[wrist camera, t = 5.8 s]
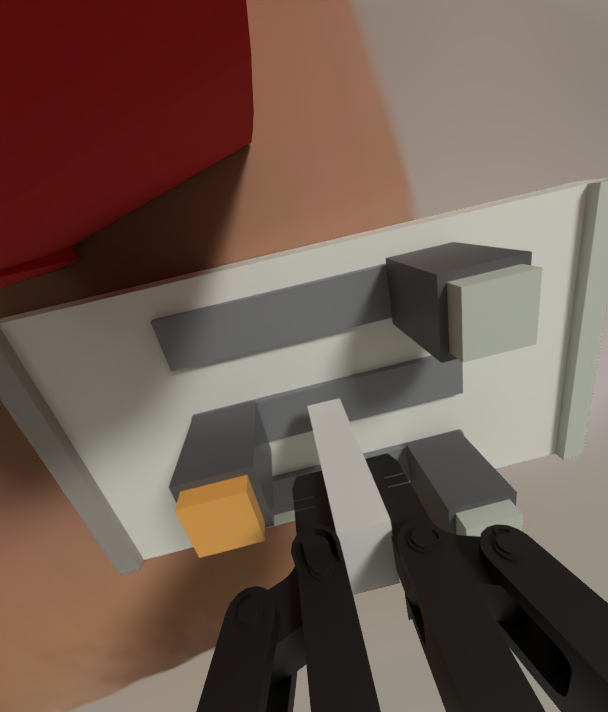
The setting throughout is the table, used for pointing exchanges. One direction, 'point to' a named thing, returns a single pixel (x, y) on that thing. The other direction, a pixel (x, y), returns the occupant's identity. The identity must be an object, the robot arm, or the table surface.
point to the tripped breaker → (225, 480)
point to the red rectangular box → (110, 114)
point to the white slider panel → (329, 363)
